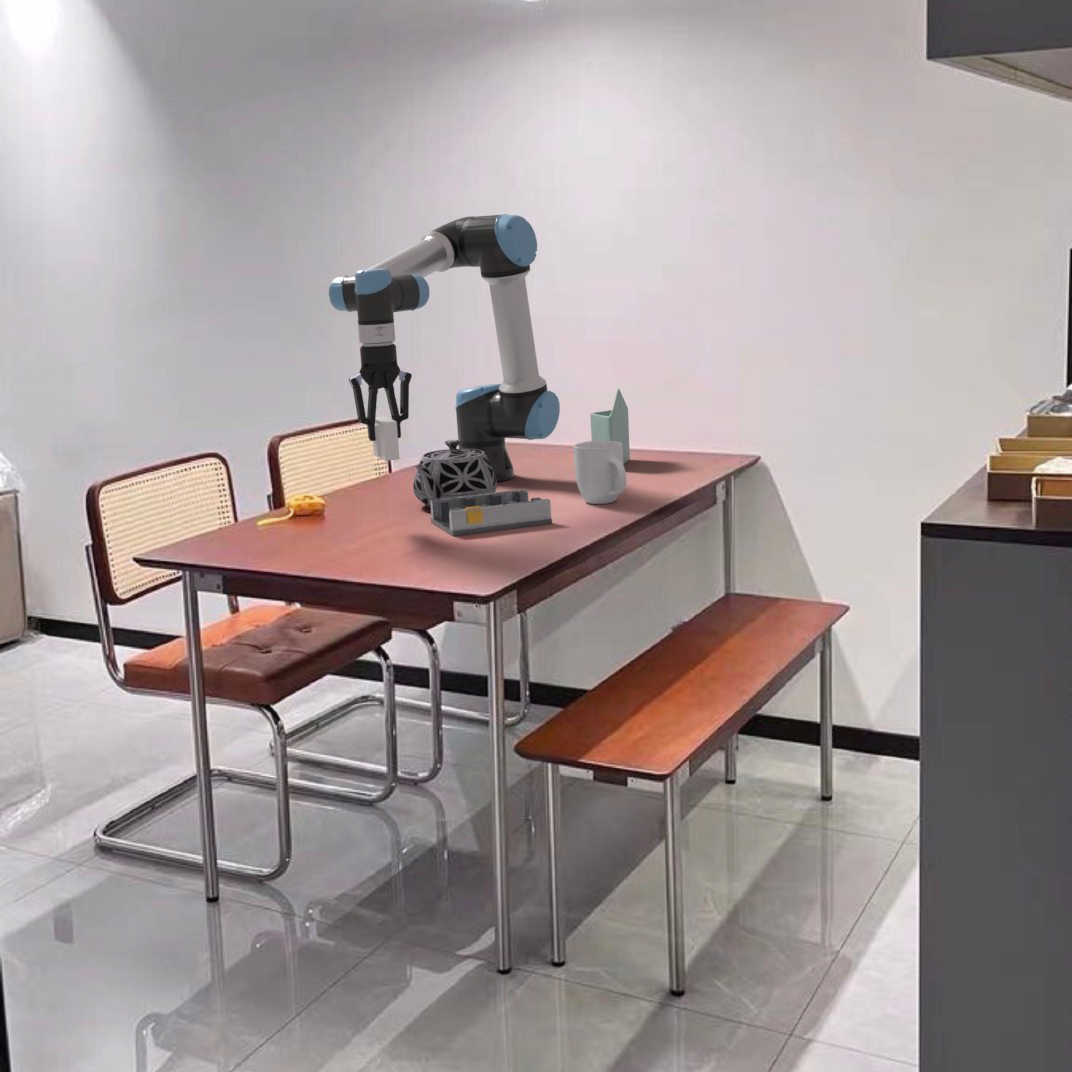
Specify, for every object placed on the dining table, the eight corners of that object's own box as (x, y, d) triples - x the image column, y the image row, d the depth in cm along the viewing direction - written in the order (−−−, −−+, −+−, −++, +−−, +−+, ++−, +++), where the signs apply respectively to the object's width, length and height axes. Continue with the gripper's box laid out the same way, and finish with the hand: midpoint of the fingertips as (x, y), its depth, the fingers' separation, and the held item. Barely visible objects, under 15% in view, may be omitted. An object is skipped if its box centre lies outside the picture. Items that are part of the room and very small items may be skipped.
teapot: (382, 517, 328) (377, 450, 325) (451, 491, 354) (448, 429, 351) (456, 521, 319) (452, 453, 316) (521, 494, 346) (518, 431, 343)
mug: (644, 503, 328) (643, 445, 326) (605, 511, 323) (602, 452, 320) (605, 494, 341) (603, 438, 338) (566, 501, 335) (563, 444, 332)
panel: (373, 454, 318) (370, 417, 316) (387, 452, 319) (384, 416, 317) (385, 460, 308) (382, 422, 307) (399, 459, 309) (396, 421, 308)
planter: (601, 459, 388) (598, 384, 384) (630, 459, 385) (627, 384, 381) (583, 470, 373) (580, 393, 368) (613, 471, 370) (611, 392, 366)
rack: (431, 522, 320) (429, 498, 319) (526, 510, 327) (524, 487, 326) (453, 536, 305) (451, 511, 304) (552, 523, 312) (551, 499, 311)
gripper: (344, 348, 302) (353, 461, 307) (419, 342, 307) (427, 453, 313) (335, 345, 309) (345, 456, 314) (409, 339, 314) (417, 448, 320)
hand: (386, 454), depth 313 cm, fingers closed on panel, 3 cm apart
